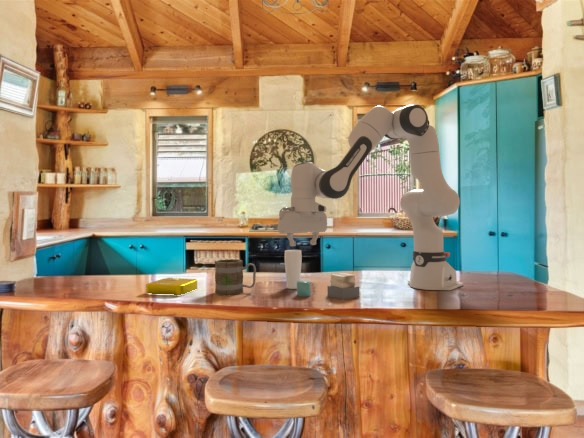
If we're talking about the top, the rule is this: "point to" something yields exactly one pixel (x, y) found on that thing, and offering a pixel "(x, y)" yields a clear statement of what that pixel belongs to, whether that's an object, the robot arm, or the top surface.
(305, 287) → the teal cylinder
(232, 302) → the top surface
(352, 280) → the tower top
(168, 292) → the element tile
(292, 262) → the drinking glass
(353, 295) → the tower base
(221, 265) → the mug
